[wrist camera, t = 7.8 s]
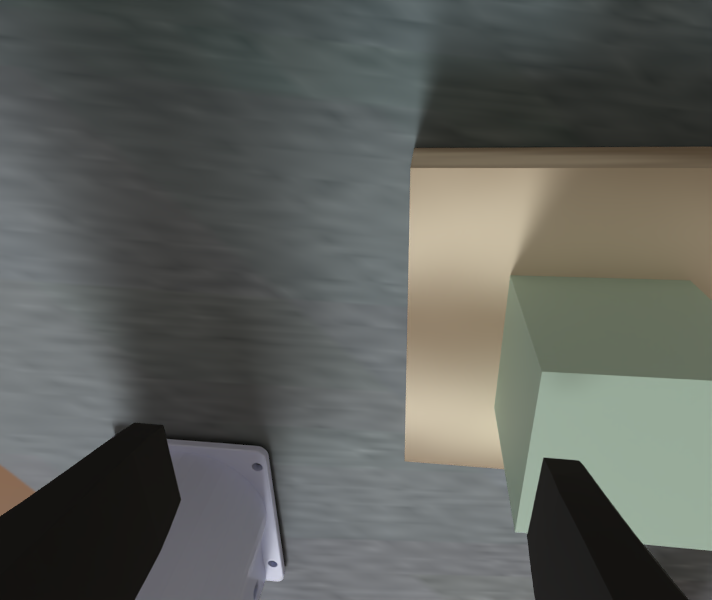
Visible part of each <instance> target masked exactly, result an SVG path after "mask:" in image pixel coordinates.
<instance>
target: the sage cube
mask: <svg viewBox="0 0 712 600" xmlns="http://www.w3.org/2000/svg"><path fill="white" fill-rule="evenodd" d="M494 409H495V415H496V421H497V427H498V433H499V439H500V445H501V451H502V457H503V463H504V469H505V475H506V481H507V487H508V493H509V499H510V505H511V511H512V517H513V523H514V529H515V532H520V533H528V529H529V524H530V519H531V515H532V510H533V505H534V500H535V495H536V491H537V486H538V481H539V476H540V471H541V467H542V462H543V457H544V458H556V459H568V460H579V461H580V462H581V463H582V464H583V465H584V466H585V468H586V469H587V470H588V472H589V473H590V475H591V476H592V477H593V479H594V480H595V481H596V483H597V484H598V485H599V487H600V488H601V490H602V491H603V492H604V494H605V495H606V496H607V498H608V499H609V500H610V502H611V503H612V504H613V506H614V507H615V508H616V510H617V511H618V512H619V514H620V515H621V516H622V518H623V519H624V520H625V522H626V523H627V524H628V525H629V527H630V528H631V529H632V531H633V532H634V533H635V535H636V536H637V537H638V538H639V540H640V541H641V542H642V543H643V544H646V545H656V546H667V547H677V548H688V549H698V550H709V551H712V300H711V299H710V298H709V297H707V296H706V295H705V294H704V293H703V292H702V291H701V290H700V289H699V288H698V287H697V286H696V285H694V284H693V283H692V282H691V281H690V280H659V279H624V278H589V277H555V276H520V275H510V281H509V289H508V297H507V306H506V314H505V322H504V330H503V339H502V347H501V355H500V363H499V372H498V380H497V388H496V396H495V405H494Z"/></svg>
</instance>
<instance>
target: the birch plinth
mask: <svg viewBox="0 0 712 600" xmlns="http://www.w3.org/2000/svg"><path fill="white" fill-rule="evenodd" d="M510 275H520V276H555V277H589V278H624V279H659V280H690V281H691V282H692V283H693V284H694V285H696V286H697V287H698V288H699V289H700V290H701V291H702V292H703V293H704V294H705V295H706V296H707V297H709V298H710V299H711V300H712V147H527V148H414V152H413V157H412V163H411V171H410V221H409V271H408V321H407V371H406V421H405V461H408V462H421V463H434V464H447V465H459V466H472V467H485V468H497V469H504V463H503V457H502V451H501V445H500V439H499V433H498V427H497V421H496V415H495V409H494V405H495V396H496V388H497V380H498V372H499V363H500V355H501V347H502V339H503V330H504V322H505V314H506V306H507V297H508V289H509V281H510Z"/></svg>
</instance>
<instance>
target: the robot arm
mask: <svg viewBox="0 0 712 600" xmlns="http://www.w3.org/2000/svg"><path fill="white" fill-rule="evenodd" d="M256 463H258V464H260V465H258V464H256ZM527 539H528V547H529V556H530V565H531V572H532V580H533V588H534V595H535V600H688V599H687V597H686V596H685V595H684V594H683V593H682V591H681V590H680V589H679V588H678V587H677V585H676V584H675V583H674V582H673V581H672V579H671V578H670V577H669V576H668V574H667V573H666V572H665V571H664V569H663V568H662V567H661V566H660V565H659V563H658V562H657V561H656V560H655V558H654V557H653V556H652V555H651V553H650V552H649V551H648V550H647V549H646V547H645V546H644V545H643V543H642V542H641V541H640V540H639V538H638V537H637V536H636V535H635V533H634V532H633V531H632V529H631V528H630V527H629V525H628V524H627V523H626V522H625V520H624V519H623V518H622V516H621V515H620V514H619V512H618V511H617V510H616V508H615V507H614V506H613V504H612V503H611V502H610V500H609V499H608V498H607V496H606V495H605V494H604V492H603V491H602V490H601V488H600V487H599V485H598V484H597V483H596V481H595V480H594V479H593V477H592V476H591V475H590V473H589V472H588V470H587V469H586V468H585V466H584V465H583V464H582V463H581V462H580V461H579V460H568V459H556V458H544V457H543V462H542V467H541V471H540V476H539V481H538V486H537V491H536V495H535V500H534V505H533V510H532V515H531V519H530V524H529V529H528V534H527ZM284 575H285V566H284V559H283V552H282V545H281V538H280V531H279V524H278V517H277V510H276V503H275V497H274V490H273V483H272V476H271V469H270V462H269V455H268V452H267V451H266V450H265V449H264V448H262V447H260V446H252V445H239V444H226V443H213V442H200V441H187V440H175V439H166V434H165V430H164V426H163V425H154V424H143V423H133V424H132V425H130V426H129V427H127V428H126V429H124V430H123V431H121V432H120V433H118V434H117V435H115V436H113V437H112V438H111V439H110V440H108V441H107V442H106V443H104V444H103V445H101V446H100V447H99V448H97V449H96V450H94V451H93V452H92V453H90V454H89V455H87V456H86V457H85V458H83V459H82V460H80V461H79V462H78V463H76V464H75V465H74V466H72V467H71V468H69V469H68V470H67V471H65V472H64V473H62V474H61V475H59V476H58V477H57V478H55V479H54V480H52V481H51V482H50V483H48V484H47V485H45V486H44V487H42V488H41V489H40V490H38V491H37V492H35V493H34V494H33V495H31V496H30V497H28V498H27V499H25V500H24V501H23V502H21V503H20V504H18V505H17V506H15V507H14V508H12V509H10V510H9V511H7V512H6V513H4V514H3V515H1V516H0V600H259V598H260V595H261V592H262V589H263V586H264V582H265V580H269V581H281V580H282V579H283V578H284Z"/></svg>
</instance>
